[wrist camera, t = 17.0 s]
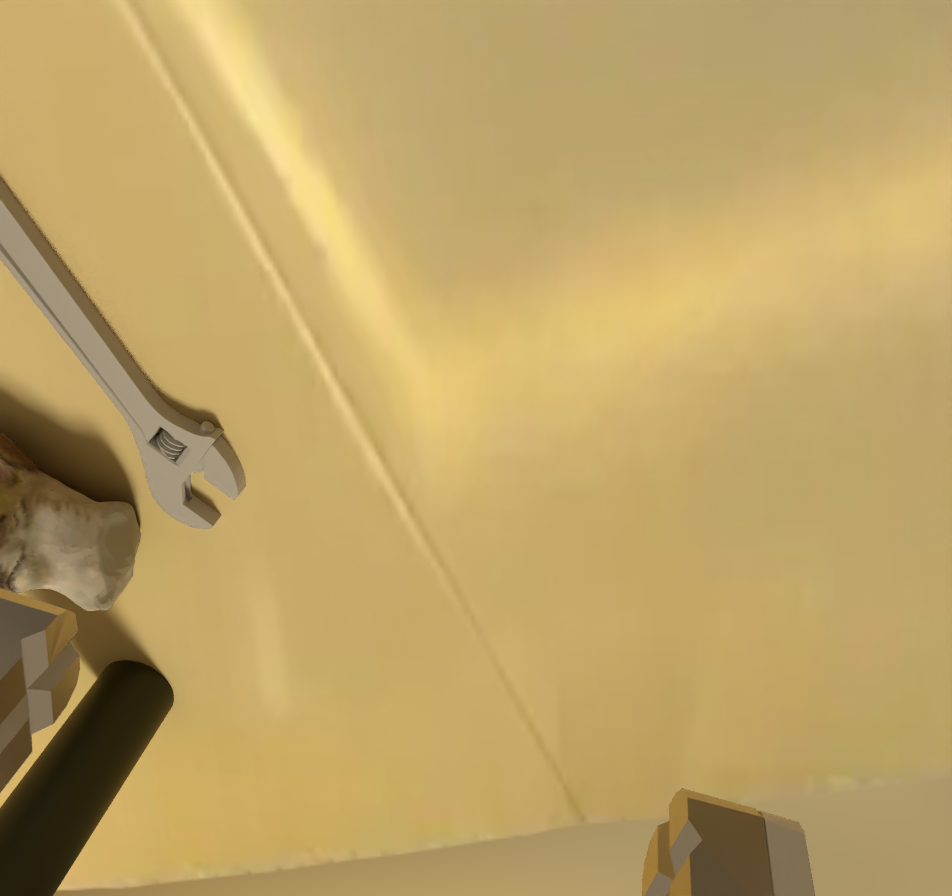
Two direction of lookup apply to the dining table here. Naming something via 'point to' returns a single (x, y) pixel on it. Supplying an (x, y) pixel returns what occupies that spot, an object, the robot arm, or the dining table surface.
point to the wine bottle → (78, 778)
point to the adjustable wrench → (121, 377)
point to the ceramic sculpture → (61, 536)
